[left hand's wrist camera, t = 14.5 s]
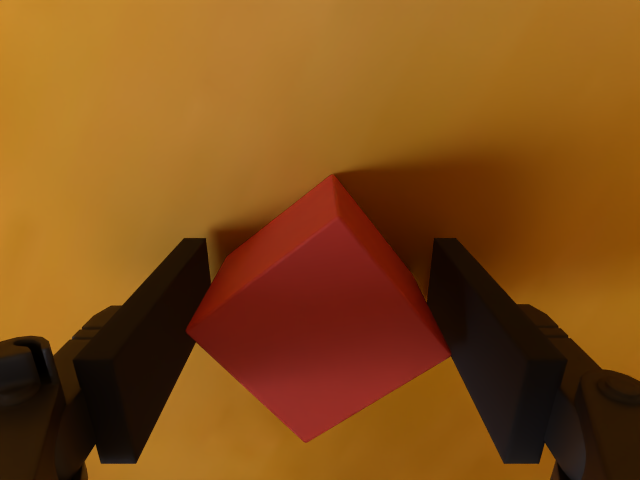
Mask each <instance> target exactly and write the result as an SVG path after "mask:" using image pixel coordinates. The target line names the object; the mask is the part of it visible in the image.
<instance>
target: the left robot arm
mask: <svg viewBox="0 0 640 480" xmlns="http://www.w3.org/2000/svg"><path fill="white" fill-rule="evenodd" d="M210 285H211V280H210V271H209V262H208V254H207V245H206V238H184V239H183V240H182V241H181V242H180V243H179V244H178V245H177V246H176V248H175V249H174V250H173V251H172V252H171V253H170V254H169V255H168V256H167V257H166V258H165V260H164V261H163V262H162V263H161V264H160V265H159V266H158V267H157V268H156V269H155V270H154V272H153V273H152V274H151V275H150V276H149V277H148V278H147V279H146V280H145V281H144V282H143V283H142V285H141V286H140V287H139V288H138V289H137V290H136V291H135V292H134V293H133V294H132V295H131V297H130V298H129V299H128V300H127V301H126V302H125V303H124V304H123V305H122V306H110V307H108V308H106V309H104V310H103V311H101V312H99V313H97V314H96V315H94V316H93V317H92V318H91V319H90V320H89V321H88V322H87V323H86V324H85V325H84V326H83V327H82V330H79V331H78V332H77V333H76V334H75V335H74V336H73V337H72V340H69V341H68V342H67V343H66V344H65V345H64V346H63V347H62V348H61V349H60V350H59V351H58V352H57V353H56V354H55V355H54V356H53V354H52V351H51V347H50V344H49V341H47V340H46V339H44V338H43V337H37V336H24V337H16V338H12V339H9V340H5V341H1V342H0V480H88V474H87V468H86V465H85V462H84V461H85V460H86V458H87V457H88V455H89V453H90V452H91V450H92V449H93V447H94V446H95V444H96V447H97V451H98V455H99V458H100V462H101V464H136V463H137V461H138V459H139V457H140V455H141V452H142V450H143V448H144V446H145V444H146V442H147V440H148V438H149V436H150V434H151V432H152V430H153V428H154V426H155V424H156V422H157V420H158V418H159V416H160V414H161V412H162V410H163V408H164V406H165V404H166V402H167V400H168V398H169V396H170V394H171V392H172V390H173V388H174V386H175V383H176V381H177V379H178V377H179V375H180V373H181V371H182V369H183V367H184V365H185V363H186V361H187V359H188V357H189V355H190V353H191V351H192V349H193V347H194V345H195V343H196V342H195V341H194V340H193V339H192V338H191V337H190V336H189V335H188V334H187V333H186V331H185V330H186V328H187V326H188V324H189V323H190V321H191V319H192V317H193V316H194V314H195V312H196V310H197V308H198V307H199V305H200V303H201V301H202V300H203V298H204V296H205V294H206V293H207V291H208V289H209V287H210ZM427 305H428V307H429V309H430V311H431V313H432V315H433V317H434V319H435V321H436V323H437V325H438V327H439V329H440V331H441V333H442V335H443V337H444V339H445V341H446V343H447V345H448V347H449V349H450V351H451V357H452V359H453V361H454V363H455V365H456V367H457V369H458V371H459V373H460V375H461V377H462V379H463V381H464V383H465V385H466V388H467V390H468V392H469V394H470V396H471V398H472V400H473V402H474V404H475V406H476V408H477V410H478V412H479V414H480V416H481V418H482V420H483V422H484V424H485V426H486V428H487V430H488V432H489V434H490V436H491V438H492V440H493V442H494V444H495V446H496V448H497V450H498V452H499V454H500V457H501V459H502V461H503V463H504V464H539V462H540V458H541V455H542V451H543V447H544V444H545V443H546V445H547V447H548V448H549V450H550V451H551V453H552V454H553V456H554V458H555V459H556V462H555V465H554V468H553V472H552V475H551V478H550V480H640V381H638V380H636V379H634V378H632V377H630V376H628V375H625V374H622V373H618V372H615V371H612V370H604V369H601V368H600V367H599V366H598V365H597V364H596V363H595V362H594V361H593V360H592V359H591V358H590V357H589V356H588V355H587V354H586V353H585V352H584V351H583V350H582V349H581V348H580V347H579V346H578V345H577V344H576V343H575V342H574V341H573V340H572V339H571V338H568V335H567V334H566V333H565V332H564V331H563V330H562V329H561V328H558V325H557V324H556V323H555V322H554V321H553V320H552V319H551V318H550V317H549V316H548V315H547V314H545V313H543V312H542V311H540V310H538V309H536V308H535V307H533V306H531V305H529V304H516V303H515V302H514V301H513V300H512V299H511V298H510V297H509V295H508V294H507V293H506V292H505V291H504V290H503V289H502V288H501V287H500V286H499V285H498V283H497V282H496V281H495V280H494V279H493V278H492V277H491V276H490V275H489V274H488V273H487V271H486V270H485V269H484V268H483V267H482V266H481V265H480V264H479V263H478V262H477V261H476V260H475V258H474V257H473V256H472V255H471V254H470V253H469V252H468V251H467V250H466V249H465V248H464V246H463V245H462V244H461V243H460V242H459V241H458V240H457V239H456V238H434V245H433V254H432V262H431V271H430V280H429V289H428V298H427Z"/></svg>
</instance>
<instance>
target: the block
mask: <svg viewBox="0 0 640 480" xmlns="http://www.w3.org/2000/svg"><path fill="white" fill-rule="evenodd" d="M185 331H186V333H187V334H188V335H189V336H190V337H191V338H192V339H193V340H194V341H195V342H196V343H198V344H199V345H200V346H201V347H202V348H203V349H204V350H205V351H206V352H207V353H208V354H209V355H211V356H212V357H213V358H214V359H215V360H216V361H217V362H218V363H219V364H220V365H221V366H222V367H223V368H225V369H226V370H227V371H228V372H229V373H230V374H231V375H232V376H233V377H234V378H235V379H236V380H238V381H239V382H240V383H241V384H242V385H243V386H244V387H245V388H246V389H247V390H248V391H249V392H251V393H252V394H253V395H254V396H255V397H256V398H257V399H258V400H259V401H260V402H261V403H262V404H263V405H265V406H266V407H267V408H268V409H269V410H270V411H271V412H272V413H273V414H274V415H275V416H276V417H278V418H279V419H280V420H281V421H282V422H283V423H284V424H285V425H286V426H287V427H288V428H289V429H291V430H292V431H293V432H294V433H295V434H296V435H297V436H298V437H299V438H300V439H301V440H302V441H303V442H305V443H306V442H309V441H310V440H312V439H314V438H315V437H317V436H319V435H320V434H322V433H324V432H325V431H327V430H329V429H330V428H332V427H334V426H335V425H337V424H339V423H340V422H342V421H344V420H345V419H347V418H349V417H350V416H352V415H354V414H355V413H357V412H359V411H360V410H362V409H364V408H365V407H367V406H369V405H370V404H372V403H374V402H375V401H377V400H379V399H380V398H382V397H384V396H385V395H387V394H389V393H390V392H392V391H394V390H395V389H397V388H399V387H400V386H402V385H404V384H405V383H407V382H409V381H410V380H412V379H414V378H415V377H417V376H419V375H420V374H422V373H424V372H425V371H427V370H429V369H431V368H432V367H434V366H436V365H437V364H439V363H441V362H442V361H444V360H446V359H447V358H449V357H450V356H451V351H450V349H449V347H448V345H447V343H446V341H445V339H444V337H443V335H442V333H441V331H440V329H439V327H438V325H437V323H436V321H435V319H434V317H433V315H432V313H431V311H430V309H429V307H428V305H427V303H426V301H425V299H424V297H423V295H422V293H421V291H420V289H419V287H418V285H417V283H416V281H415V279H414V277H413V275H412V273H411V272H410V271H409V269H408V268H407V267H406V266H405V264H404V263H403V262H402V261H401V259H400V258H399V257H398V255H397V254H396V253H395V252H394V250H393V249H392V248H391V247H390V245H389V244H388V243H387V242H386V240H385V239H384V238H383V236H382V235H381V234H380V233H379V231H378V230H377V229H376V228H375V226H374V225H373V224H372V222H371V221H370V220H369V219H368V217H367V216H366V215H365V214H364V212H363V211H362V210H361V208H360V207H359V206H358V205H357V203H356V202H355V201H354V200H353V198H352V197H351V196H350V194H349V193H348V192H347V191H346V189H345V188H344V187H343V186H342V184H341V183H340V182H339V180H338V179H337V178H336V177H335V175H333V174H332V175H330V176H329V177H327V178H326V179H325V180H324V181H322V182H321V183H320V184H318V185H317V186H316V187H315V188H313V189H312V190H311V191H309V192H308V193H307V194H306V195H304V196H303V197H302V198H301V199H299V200H298V201H297V202H295V203H294V204H293V205H292V206H290V207H289V208H288V209H287V210H285V211H284V212H283V213H281V214H280V215H279V216H278V217H276V218H275V219H274V220H272V221H271V222H270V223H269V224H267V225H266V226H265V227H264V228H262V229H261V230H260V231H258V232H257V233H256V234H255V235H253V236H252V237H251V238H249V239H248V240H247V241H246V242H244V243H243V244H242V245H241V246H239V247H238V248H237V249H235V250H234V251H233V252H232V253H230V254H229V255H228V256H227V257H226V259H225V261H224V262H223V264H222V266H221V268H220V269H219V271H218V273H217V275H216V277H215V278H214V280H213V282H212V284H211V285H210V287H209V289H208V291H207V293H206V294H205V296H204V298H203V300H202V301H201V303H200V305H199V307H198V308H197V310H196V312H195V314H194V316H193V317H192V319H191V321H190V323H189V324H188V326H187V328H186V330H185Z"/></svg>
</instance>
